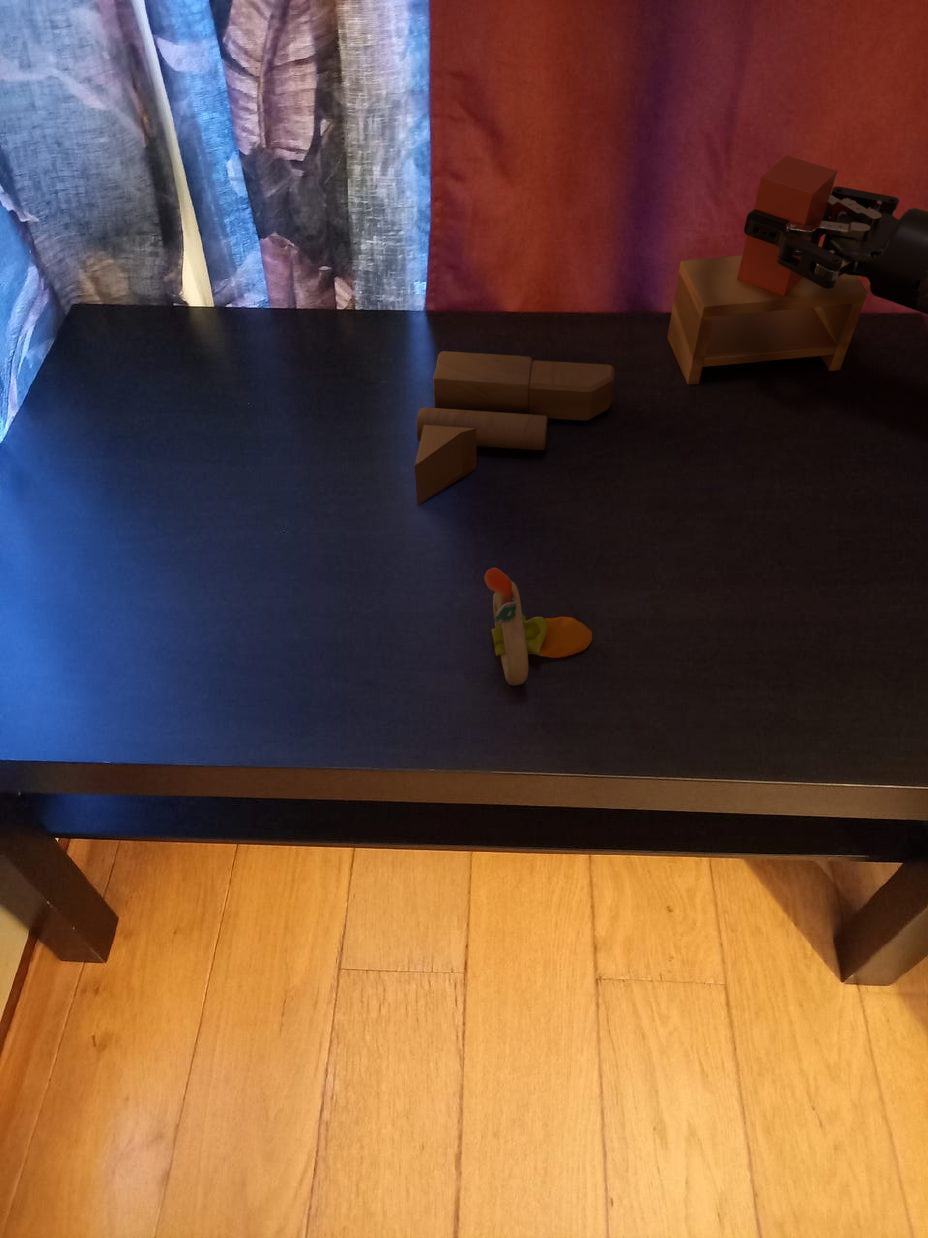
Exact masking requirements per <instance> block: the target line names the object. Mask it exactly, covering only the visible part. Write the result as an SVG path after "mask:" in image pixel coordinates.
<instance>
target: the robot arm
mask: <svg viewBox="0 0 928 1238" xmlns="http://www.w3.org/2000/svg"><path fill="white" fill-rule="evenodd" d="M899 203H900V199H899V198H898V197H896V196H892V195H887V194H881V193H875V192H871V191H865V190H860V189H856V188H855V189H854V188H850V187H845V186H837V185H836V186H833V187H832V191H831V194H830V197H829V201H828V203H827V206H826V211H825V214H824V217H823V221H821V220H820V221H817V222H815V224H813V225H810V224H802V223H796V222H789V220H786V219H783V218H780V217H777V216H774V215H771V214H768V213H765V212H762V211H759V210H756V209H754V210H753V209H752V210H751V211H750V212H748V214H747V215H746V220H745V222H744V227H743V232H744V234H745V236H747V235H748V236H751V237H754V238H757V239H760V240H762V241H765V242H768V243H771V244H774V245H776V246H778V247H779V248H780V250H779V251H780V252H779V255H778V259H777V263H778V264H780V265H782V266H784V267H786V268H788V269H789V270H791V271H793V272H795V273H797V274H799V275H801V276H803V277H804V278H806V279H808V280H810V281H812V282H814V283H816V284H818V285H819V286H821V287H823V288H826V289H831V288H833V287H834V286H835V283H836V280H837V278H838V277H840V276H841V275H843V274H847V275H855V276H857V277H864V278H866V279H868V281H869V291H870V293H871V294H872V295H873V296H875V297H877V298H879V299H882V300H885V301H888V302H891V303H894V304H897V305H900V306H902V307H905V308H908V309H911V310H914V311H915V312H916V311H917V312H920V313H923V314H925V315H928V211H927V210H924V209H921V208H918V207H912V208H909V209H907V210H906V211H905V212H904V213H903V214H902V215H901V216H900V218H897V217H896V216H895V214H896V211H897V208H898V206H899ZM798 235H802V236H809V237H811V239H810V241H808V240H806V239H804V238H802V237H800V236H798ZM823 236H824V237H823ZM822 237H823V241H822V245H821V246H819V244H820V241H821V238H822ZM793 255H794V256H800V257H801V260H799V259H797V258H795V257H793Z"/></svg>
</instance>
